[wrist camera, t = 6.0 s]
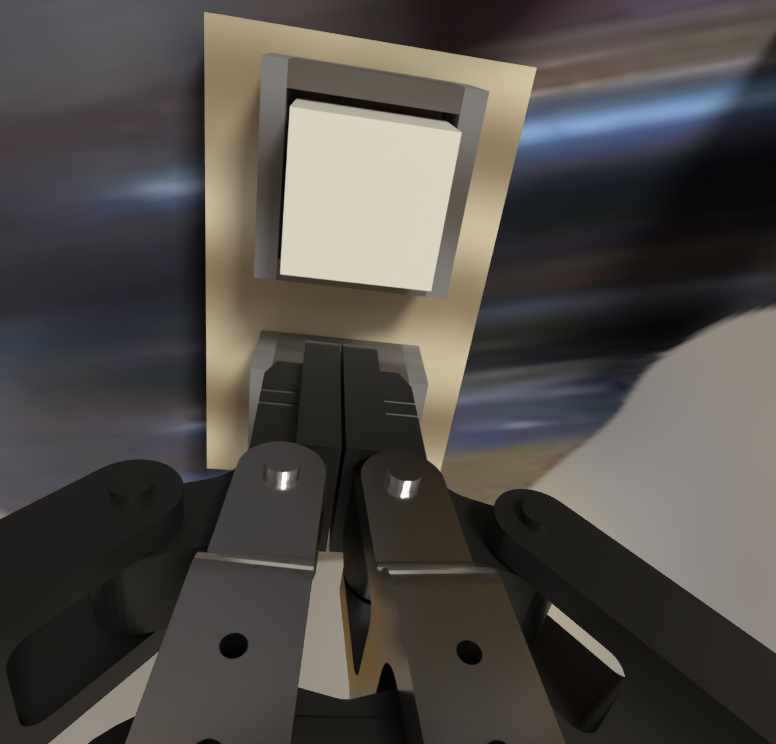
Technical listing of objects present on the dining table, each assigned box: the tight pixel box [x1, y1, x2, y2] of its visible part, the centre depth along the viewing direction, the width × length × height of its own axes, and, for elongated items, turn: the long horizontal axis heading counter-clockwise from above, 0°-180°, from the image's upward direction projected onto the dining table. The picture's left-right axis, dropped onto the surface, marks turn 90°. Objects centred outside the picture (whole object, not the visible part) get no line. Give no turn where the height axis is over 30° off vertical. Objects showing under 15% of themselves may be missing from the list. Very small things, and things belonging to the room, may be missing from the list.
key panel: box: [204, 12, 537, 471], centre depth 25 cm, size 20×12×6 cm, turn 172°
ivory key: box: [280, 98, 462, 291], centre depth 19 cm, size 5×5×3 cm
